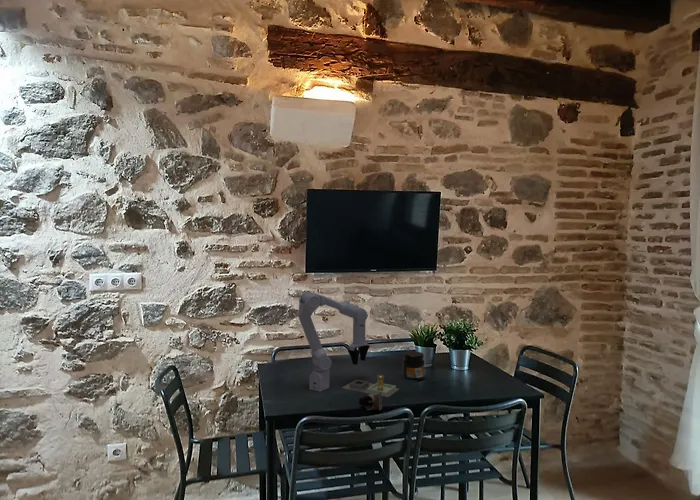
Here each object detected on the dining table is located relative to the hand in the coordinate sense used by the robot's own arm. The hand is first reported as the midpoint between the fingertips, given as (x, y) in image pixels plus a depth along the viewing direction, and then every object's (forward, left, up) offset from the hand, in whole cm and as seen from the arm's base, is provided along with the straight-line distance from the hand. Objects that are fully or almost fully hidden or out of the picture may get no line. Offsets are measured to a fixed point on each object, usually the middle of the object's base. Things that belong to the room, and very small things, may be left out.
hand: (359, 362), depth 236 cm
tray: (-6, -15, -10) cm, 18 cm away
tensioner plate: (-6, -9, -10) cm, 14 cm away
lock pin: (-5, -14, -9) cm, 17 cm away
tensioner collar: (-5, -3, -10) cm, 11 cm away
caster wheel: (-24, -19, -10) cm, 32 cm away
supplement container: (+20, -19, -10) cm, 29 cm away
